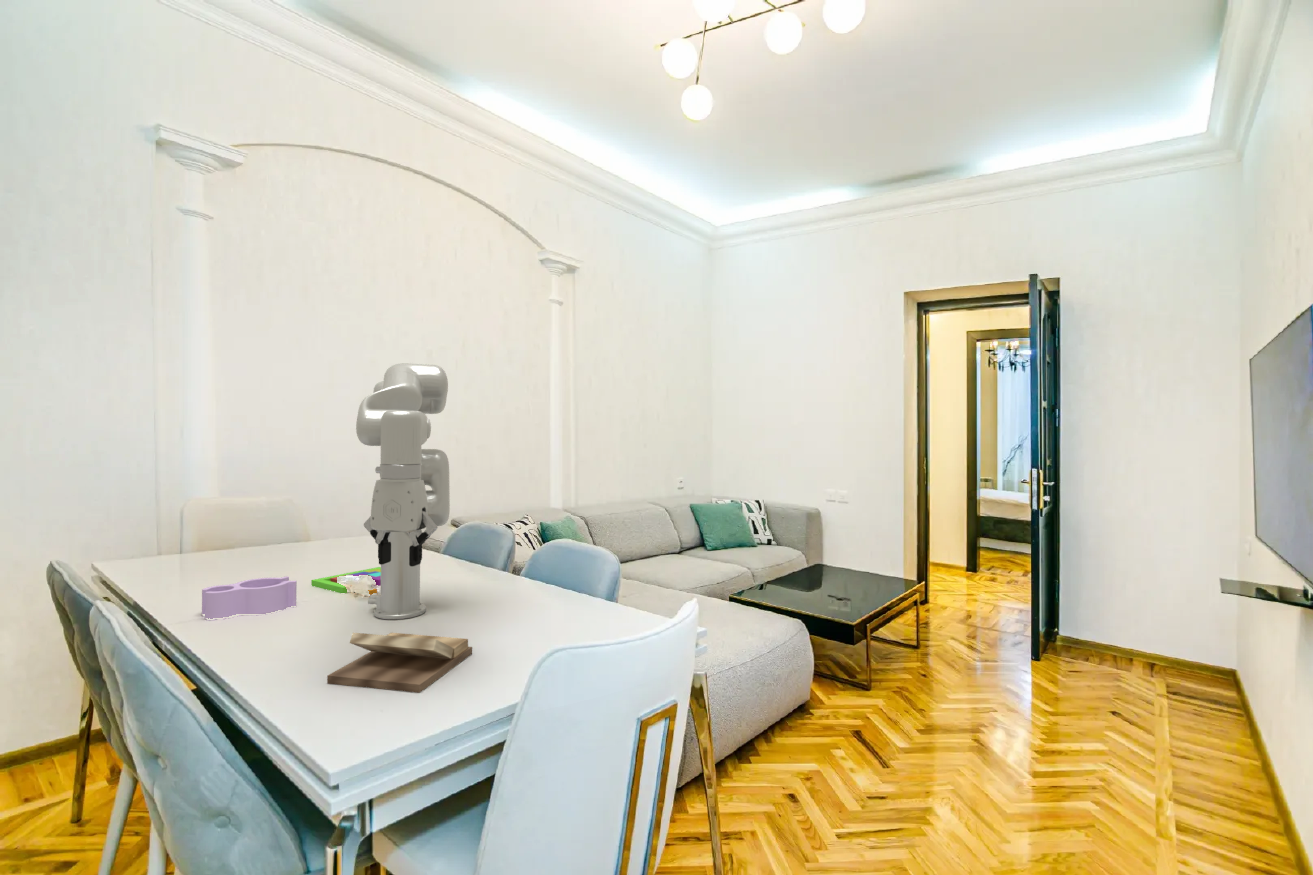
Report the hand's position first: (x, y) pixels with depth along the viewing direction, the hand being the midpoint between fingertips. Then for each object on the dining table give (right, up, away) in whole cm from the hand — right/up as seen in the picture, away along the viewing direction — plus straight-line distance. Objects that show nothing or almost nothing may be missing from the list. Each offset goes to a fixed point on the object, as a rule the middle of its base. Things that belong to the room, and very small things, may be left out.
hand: (399, 563), depth 130 cm
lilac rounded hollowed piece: (-54, -20, +40) cm, 70 cm away
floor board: (0, -22, +2) cm, 22 cm away
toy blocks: (-36, -20, +69) cm, 80 cm away
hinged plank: (0, -18, +1) cm, 18 cm away
